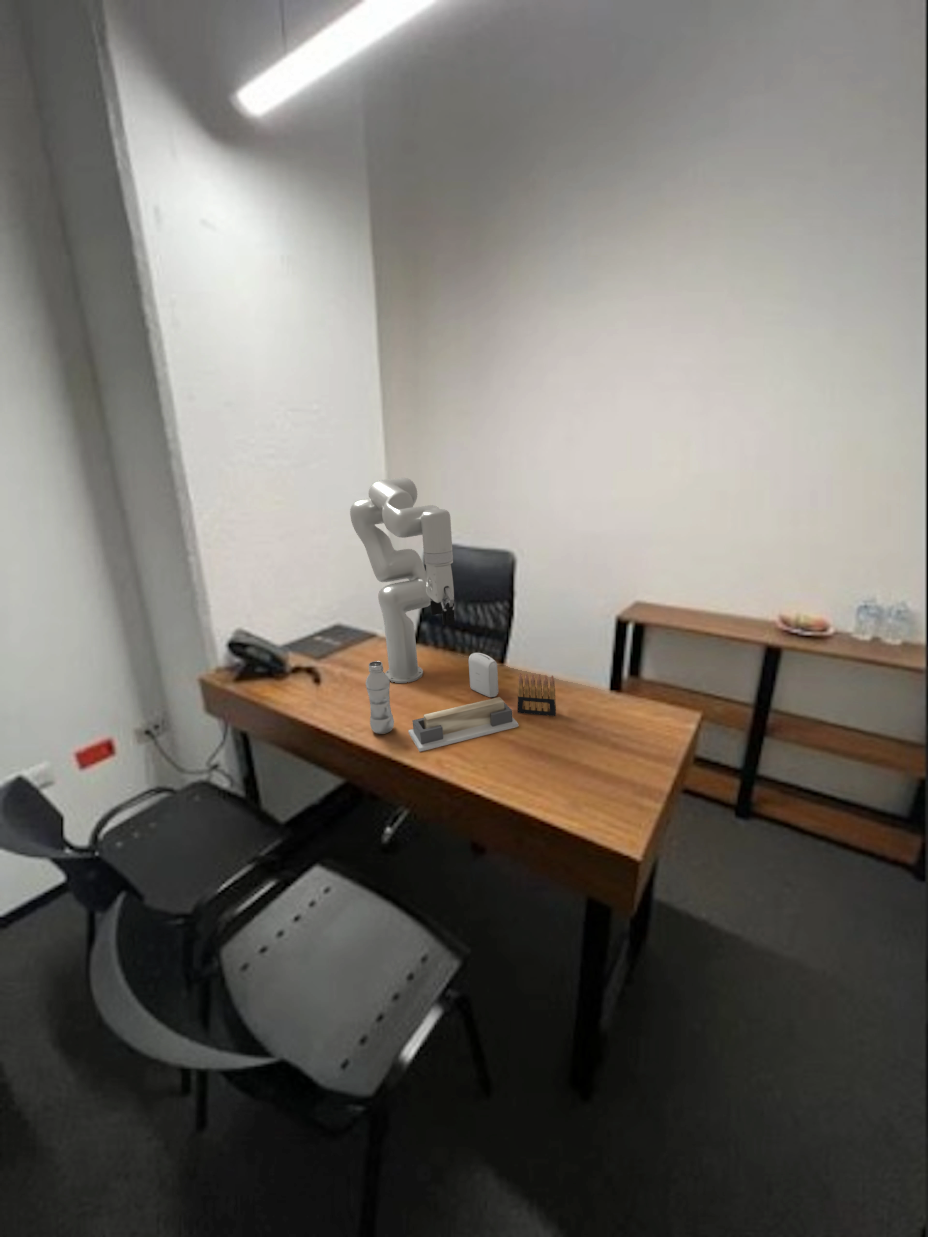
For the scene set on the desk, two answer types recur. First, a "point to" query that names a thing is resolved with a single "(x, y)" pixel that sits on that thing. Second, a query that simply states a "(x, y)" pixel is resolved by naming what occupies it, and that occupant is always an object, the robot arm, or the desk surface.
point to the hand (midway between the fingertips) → (442, 619)
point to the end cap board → (435, 736)
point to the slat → (464, 716)
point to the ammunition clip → (536, 696)
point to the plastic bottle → (379, 699)
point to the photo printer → (483, 674)
